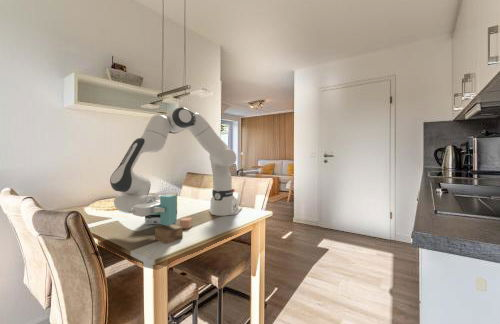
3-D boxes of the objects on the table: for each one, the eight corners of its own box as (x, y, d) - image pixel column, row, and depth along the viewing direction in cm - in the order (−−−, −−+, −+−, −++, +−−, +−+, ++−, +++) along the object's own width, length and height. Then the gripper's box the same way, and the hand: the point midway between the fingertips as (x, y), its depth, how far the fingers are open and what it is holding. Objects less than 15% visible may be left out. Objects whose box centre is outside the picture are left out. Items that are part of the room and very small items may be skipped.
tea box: (144, 225, 123) (144, 196, 122) (148, 219, 132) (148, 192, 132) (175, 223, 126) (175, 195, 125) (177, 218, 135) (177, 192, 135)
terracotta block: (183, 225, 123) (183, 217, 123) (192, 225, 123) (192, 217, 123) (180, 228, 119) (180, 220, 119) (189, 228, 118) (188, 220, 118)
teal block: (167, 221, 107) (167, 194, 107) (176, 222, 106) (175, 195, 105) (160, 224, 103) (160, 196, 103) (169, 225, 102) (168, 197, 101)
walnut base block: (171, 234, 110) (171, 223, 110) (182, 238, 106) (182, 227, 105) (155, 239, 104) (155, 228, 104) (166, 244, 99) (166, 232, 99)
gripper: (125, 203, 99) (151, 206, 94) (161, 194, 118) (184, 196, 113) (125, 218, 100) (151, 222, 94) (161, 207, 118) (184, 210, 113)
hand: (169, 208), depth 104 cm, fingers closed on teal block, 4 cm apart
